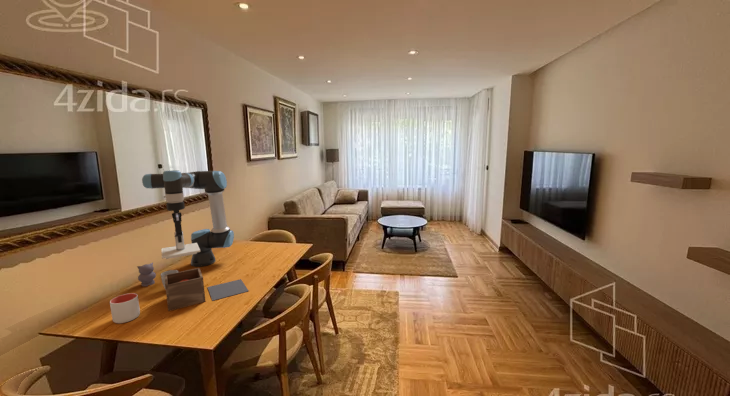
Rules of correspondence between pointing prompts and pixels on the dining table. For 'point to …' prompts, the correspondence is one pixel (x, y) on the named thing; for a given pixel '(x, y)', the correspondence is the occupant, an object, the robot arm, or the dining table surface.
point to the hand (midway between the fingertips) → (180, 247)
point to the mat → (227, 289)
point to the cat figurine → (146, 274)
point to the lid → (180, 250)
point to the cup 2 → (166, 274)
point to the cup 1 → (125, 308)
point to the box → (184, 289)
